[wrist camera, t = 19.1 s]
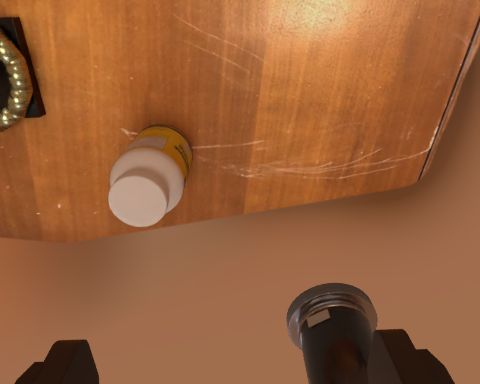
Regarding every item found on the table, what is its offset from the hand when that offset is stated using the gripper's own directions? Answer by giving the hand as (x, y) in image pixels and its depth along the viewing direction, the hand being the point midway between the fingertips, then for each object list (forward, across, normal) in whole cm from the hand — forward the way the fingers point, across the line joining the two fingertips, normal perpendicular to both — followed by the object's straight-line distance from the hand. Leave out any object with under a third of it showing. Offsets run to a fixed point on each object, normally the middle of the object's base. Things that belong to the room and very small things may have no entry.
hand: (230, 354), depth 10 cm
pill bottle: (+30, +8, +5) cm, 32 cm away
